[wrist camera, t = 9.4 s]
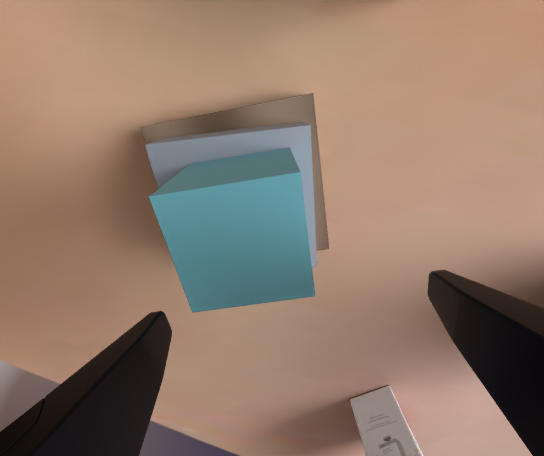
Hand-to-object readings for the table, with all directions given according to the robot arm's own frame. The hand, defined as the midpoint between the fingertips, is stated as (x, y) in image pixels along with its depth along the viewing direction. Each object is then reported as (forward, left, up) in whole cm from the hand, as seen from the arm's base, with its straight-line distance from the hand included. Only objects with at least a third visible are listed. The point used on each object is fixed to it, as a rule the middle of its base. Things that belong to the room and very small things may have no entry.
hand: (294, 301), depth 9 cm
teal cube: (+2, -2, -6) cm, 7 cm away
